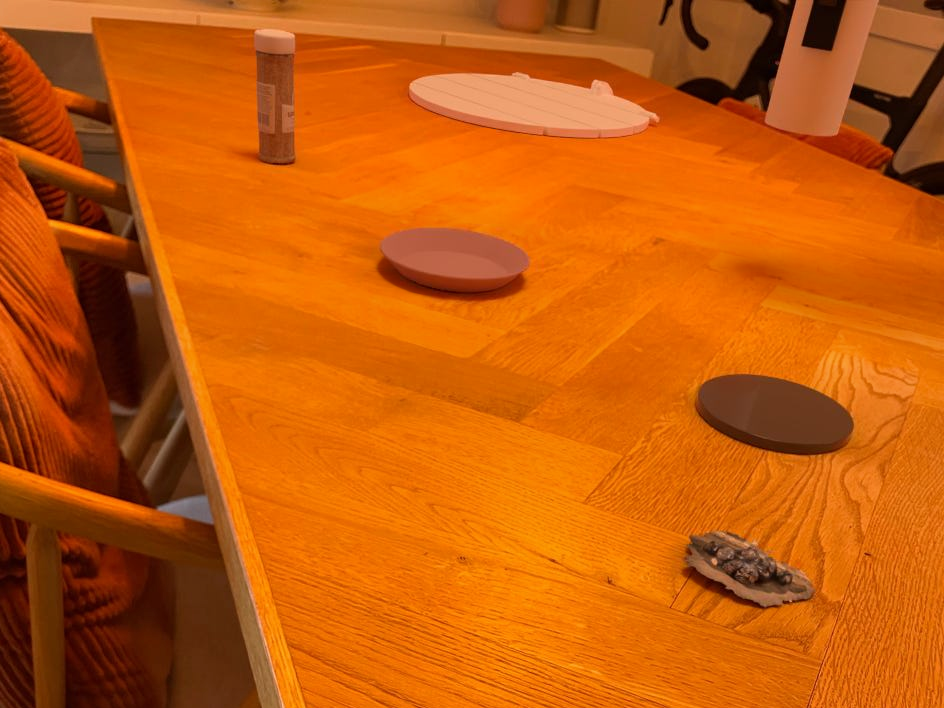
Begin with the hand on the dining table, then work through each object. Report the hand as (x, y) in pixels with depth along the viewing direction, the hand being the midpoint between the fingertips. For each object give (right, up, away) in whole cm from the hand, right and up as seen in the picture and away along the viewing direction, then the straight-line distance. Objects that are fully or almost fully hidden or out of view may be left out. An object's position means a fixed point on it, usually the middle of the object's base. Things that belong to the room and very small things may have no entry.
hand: (824, 44), depth 93 cm
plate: (-35, -21, +2) cm, 41 cm away
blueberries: (-17, -52, -34) cm, 64 cm away
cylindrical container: (-1, -6, +5) cm, 7 cm away
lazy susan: (-23, +31, +69) cm, 79 cm away
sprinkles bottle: (-57, +2, +27) cm, 63 cm away
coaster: (-10, -39, -16) cm, 43 cm away
